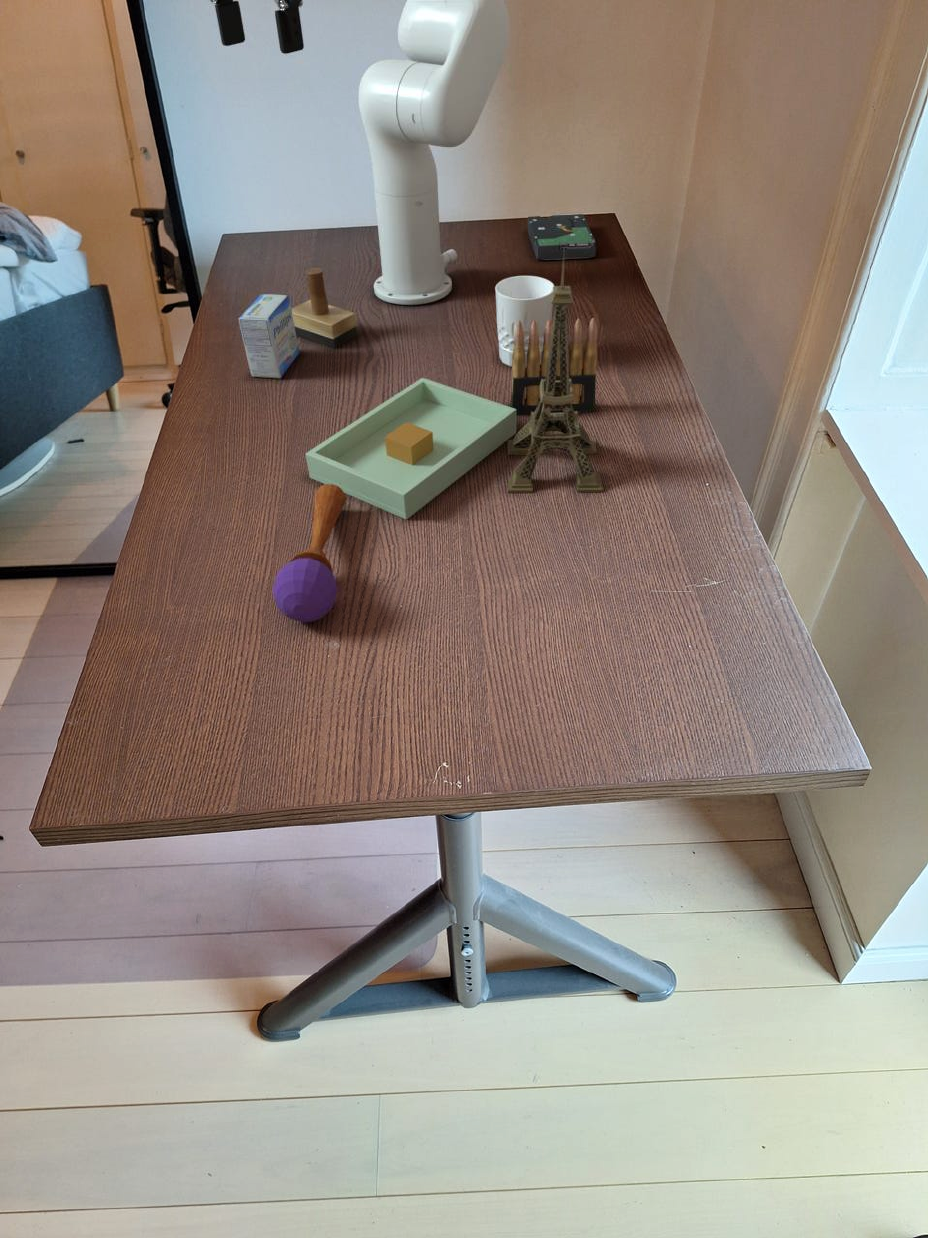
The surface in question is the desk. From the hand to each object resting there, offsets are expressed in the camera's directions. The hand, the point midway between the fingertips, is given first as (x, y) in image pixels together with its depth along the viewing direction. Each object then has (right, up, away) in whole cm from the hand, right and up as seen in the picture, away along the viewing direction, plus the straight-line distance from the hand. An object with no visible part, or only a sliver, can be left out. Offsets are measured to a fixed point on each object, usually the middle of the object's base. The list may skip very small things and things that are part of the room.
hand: (262, 47), depth 99 cm
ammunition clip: (+35, -40, +10) cm, 54 cm away
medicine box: (-3, -31, +21) cm, 38 cm away
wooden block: (+17, -47, +2) cm, 50 cm away
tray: (+18, -47, +3) cm, 50 cm away
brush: (+3, -24, +28) cm, 37 cm away
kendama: (+9, -61, -11) cm, 63 cm away
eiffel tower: (+34, -49, +1) cm, 59 cm away
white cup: (+32, -30, +21) cm, 48 cm away
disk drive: (+40, 0, +52) cm, 66 cm away
